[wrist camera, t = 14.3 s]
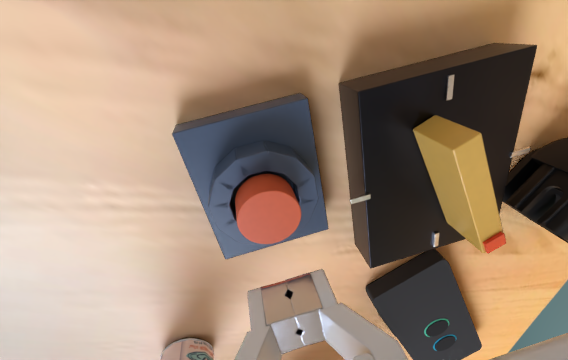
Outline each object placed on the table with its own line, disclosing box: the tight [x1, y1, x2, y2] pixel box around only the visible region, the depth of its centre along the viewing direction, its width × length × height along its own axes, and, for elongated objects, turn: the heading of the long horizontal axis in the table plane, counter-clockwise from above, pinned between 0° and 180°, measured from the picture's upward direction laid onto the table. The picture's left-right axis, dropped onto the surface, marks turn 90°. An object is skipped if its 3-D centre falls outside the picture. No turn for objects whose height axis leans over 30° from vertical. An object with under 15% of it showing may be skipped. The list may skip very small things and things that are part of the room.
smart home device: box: [366, 249, 482, 360], centre depth 32 cm, size 8×2×20 cm
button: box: [235, 174, 301, 244], centre depth 16 cm, size 4×4×2 cm
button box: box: [172, 93, 328, 259], centre depth 19 cm, size 10×8×4 cm
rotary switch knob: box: [413, 115, 506, 253], centre depth 18 cm, size 9×2×4 cm, turn 31°
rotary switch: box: [339, 43, 537, 268], centre depth 21 cm, size 14×13×3 cm
